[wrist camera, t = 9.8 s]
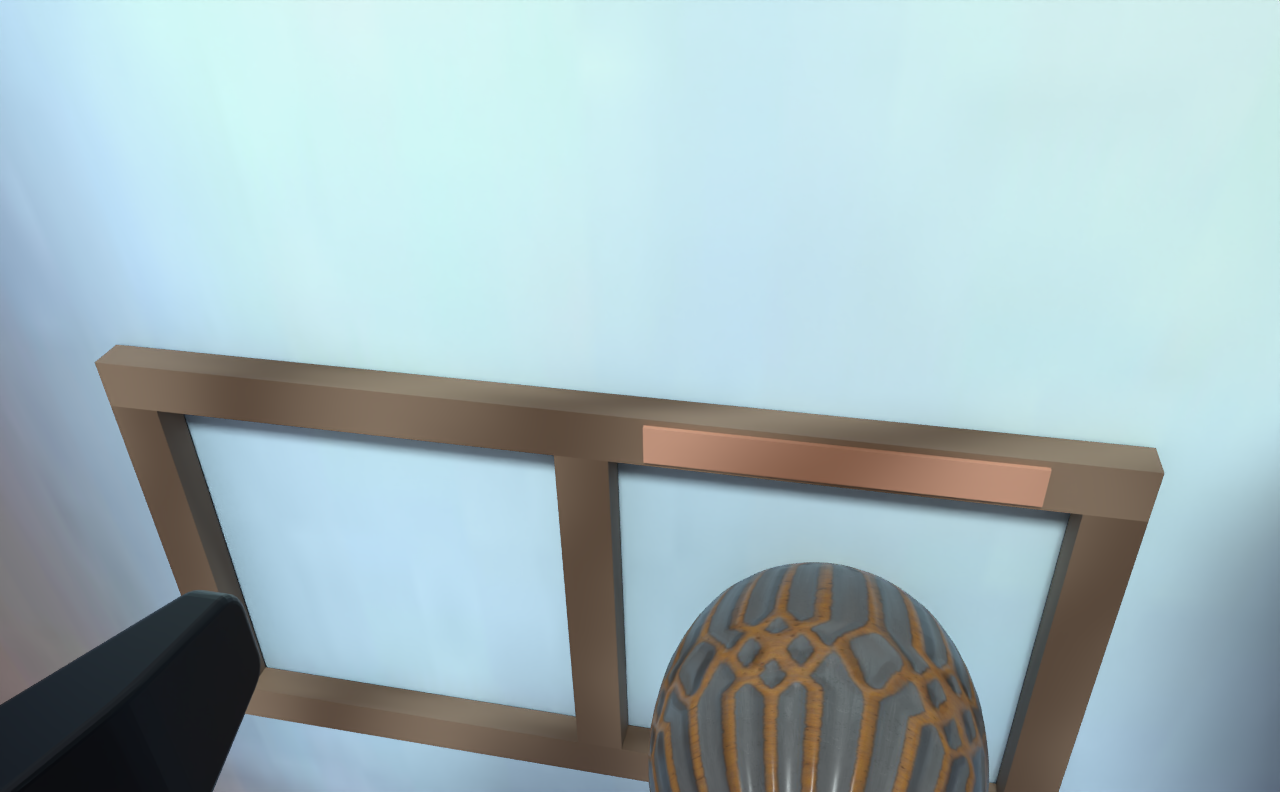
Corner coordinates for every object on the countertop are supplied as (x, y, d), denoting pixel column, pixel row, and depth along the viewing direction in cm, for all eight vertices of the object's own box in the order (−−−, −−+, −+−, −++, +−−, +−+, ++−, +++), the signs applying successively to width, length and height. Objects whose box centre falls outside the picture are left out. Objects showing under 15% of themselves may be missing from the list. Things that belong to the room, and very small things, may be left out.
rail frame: (1155, 447, 20) (1165, 476, 19) (1036, 820, 27) (1040, 851, 26) (116, 344, 24) (92, 364, 23) (238, 688, 31) (222, 712, 30)
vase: (829, 460, 22) (794, 826, 15) (1042, 645, 23) (1105, 1058, 16) (625, 606, 25) (518, 955, 18) (821, 757, 27) (793, 1133, 20)
